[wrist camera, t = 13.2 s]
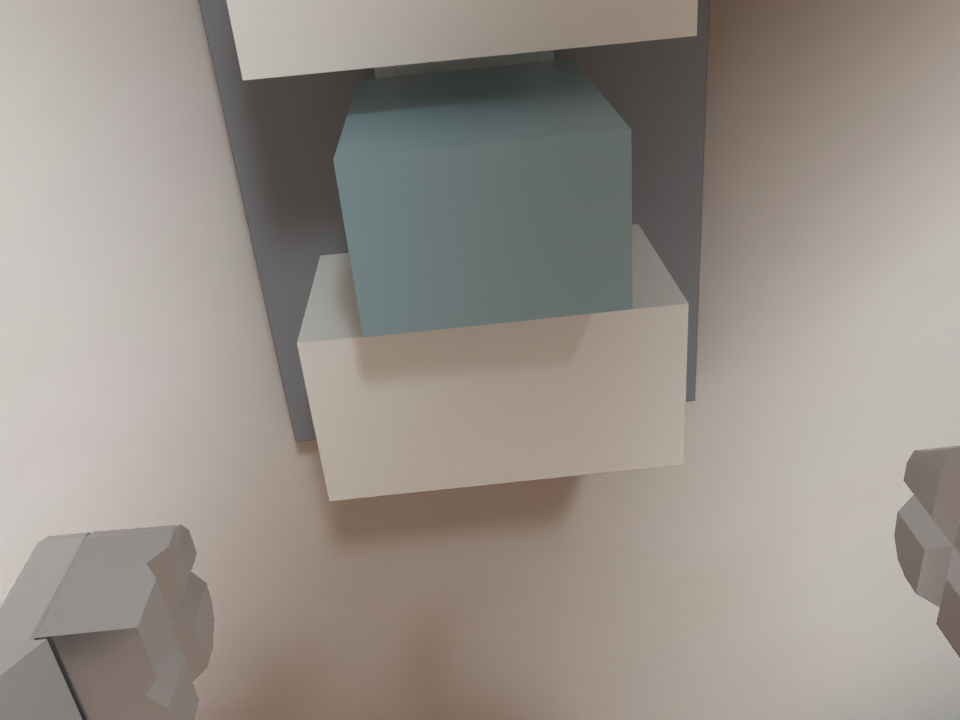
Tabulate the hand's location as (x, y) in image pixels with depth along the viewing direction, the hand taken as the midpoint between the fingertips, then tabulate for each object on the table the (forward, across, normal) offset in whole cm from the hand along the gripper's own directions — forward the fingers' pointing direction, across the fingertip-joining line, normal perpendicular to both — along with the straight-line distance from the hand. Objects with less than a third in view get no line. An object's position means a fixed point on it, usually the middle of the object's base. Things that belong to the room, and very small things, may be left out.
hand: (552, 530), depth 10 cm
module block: (+18, 0, 0) cm, 18 cm away
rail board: (+20, 0, 0) cm, 20 cm away
